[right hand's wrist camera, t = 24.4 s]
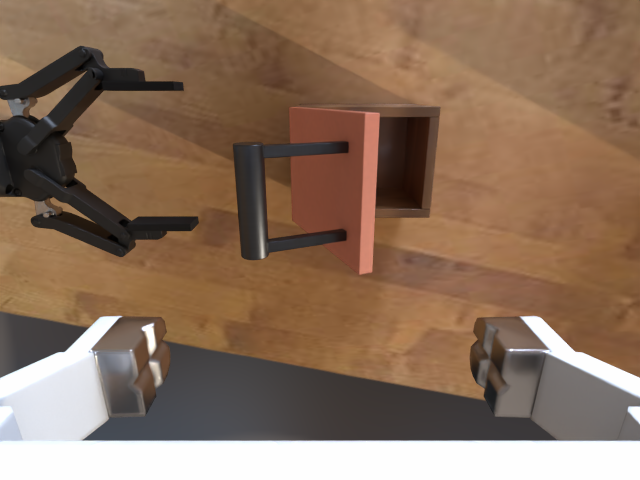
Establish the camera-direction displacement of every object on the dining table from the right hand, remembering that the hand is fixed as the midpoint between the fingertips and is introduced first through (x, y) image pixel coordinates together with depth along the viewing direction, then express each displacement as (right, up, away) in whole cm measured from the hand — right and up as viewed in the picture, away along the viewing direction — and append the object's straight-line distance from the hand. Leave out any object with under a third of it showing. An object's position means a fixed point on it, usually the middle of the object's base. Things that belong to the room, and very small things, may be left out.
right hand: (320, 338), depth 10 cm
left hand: (-13, +11, +29) cm, 34 cm away
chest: (+4, +13, +35) cm, 38 cm away
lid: (+1, +7, +20) cm, 21 cm away
